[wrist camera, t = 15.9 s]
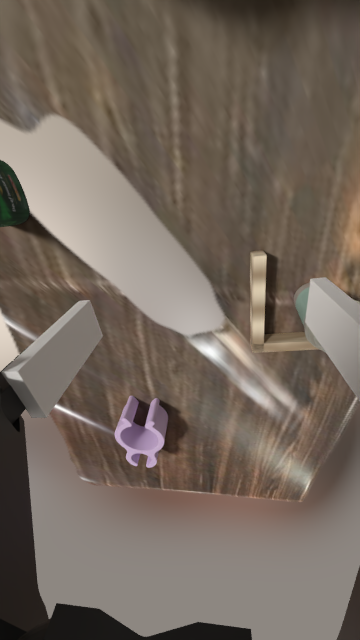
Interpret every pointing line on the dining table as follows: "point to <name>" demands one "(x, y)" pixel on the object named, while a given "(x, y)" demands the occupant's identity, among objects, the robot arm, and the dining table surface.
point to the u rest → (257, 314)
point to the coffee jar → (11, 198)
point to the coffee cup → (301, 307)
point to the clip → (142, 432)
